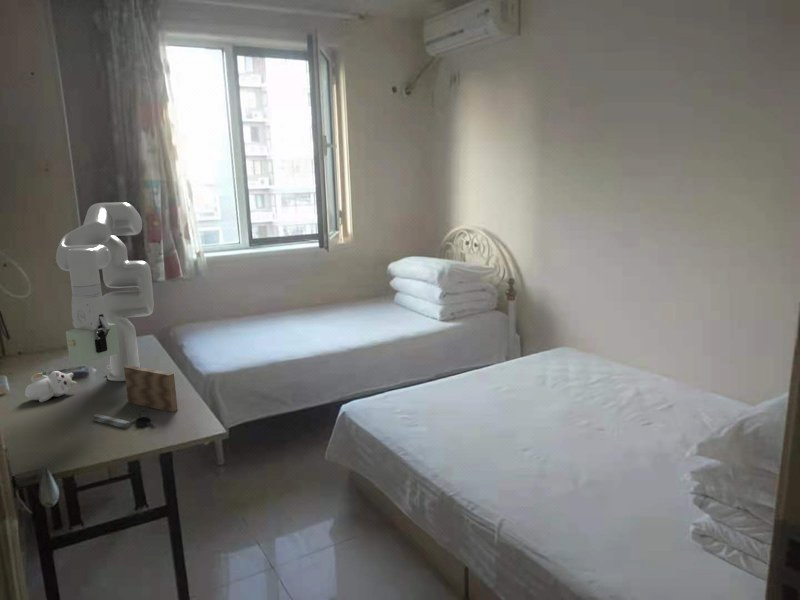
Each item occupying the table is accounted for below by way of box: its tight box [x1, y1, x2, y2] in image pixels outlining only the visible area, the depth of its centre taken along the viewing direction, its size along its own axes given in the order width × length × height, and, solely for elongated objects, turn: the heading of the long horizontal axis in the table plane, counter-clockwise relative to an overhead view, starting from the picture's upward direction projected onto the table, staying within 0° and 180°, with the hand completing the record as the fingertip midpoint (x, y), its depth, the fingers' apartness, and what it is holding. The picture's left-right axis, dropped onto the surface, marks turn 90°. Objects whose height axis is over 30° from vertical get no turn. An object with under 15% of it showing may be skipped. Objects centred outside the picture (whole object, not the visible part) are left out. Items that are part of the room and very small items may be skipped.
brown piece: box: [92, 365, 178, 429], centre depth 178 cm, size 20×16×12 cm
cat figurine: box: [24, 370, 78, 403], centre depth 195 cm, size 10×8×15 cm
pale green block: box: [65, 323, 120, 365], centre depth 172 cm, size 6×13×9 cm, turn 152°
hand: (94, 349), depth 173 cm, fingers closed on pale green block, 6 cm apart
